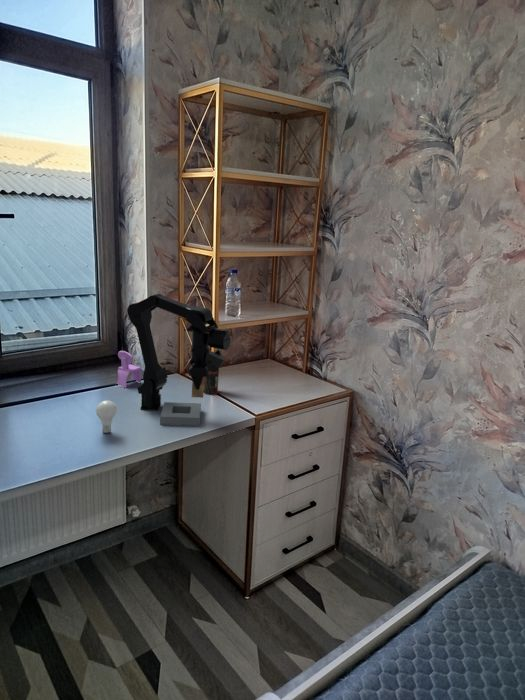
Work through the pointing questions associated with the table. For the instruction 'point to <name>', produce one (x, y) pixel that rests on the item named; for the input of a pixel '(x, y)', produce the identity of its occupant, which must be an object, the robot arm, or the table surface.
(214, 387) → the deodorant
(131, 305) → the robot arm
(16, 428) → the table surface
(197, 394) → the peg
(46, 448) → the table surface
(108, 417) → the lightbulb
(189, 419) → the socket block
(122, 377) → the toy chair
